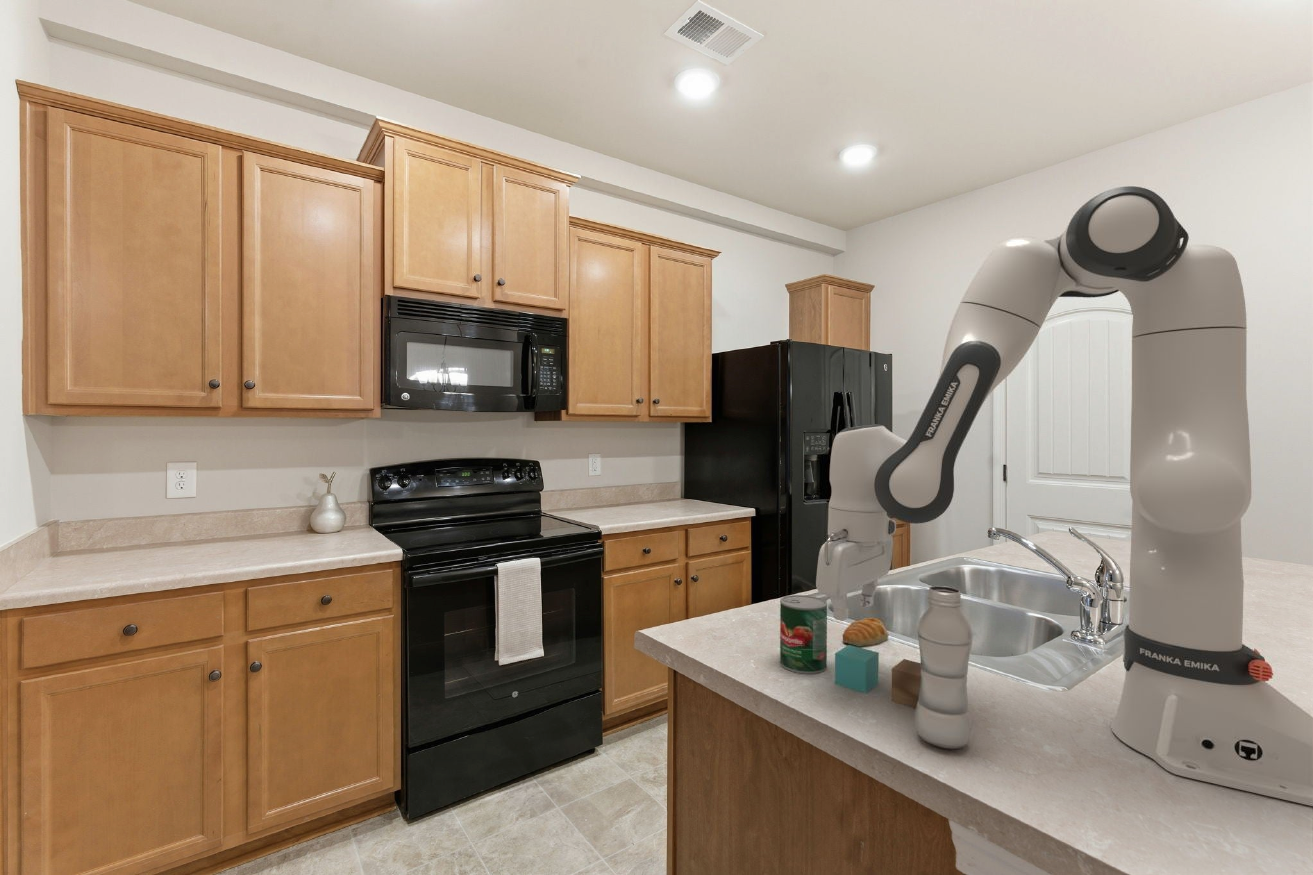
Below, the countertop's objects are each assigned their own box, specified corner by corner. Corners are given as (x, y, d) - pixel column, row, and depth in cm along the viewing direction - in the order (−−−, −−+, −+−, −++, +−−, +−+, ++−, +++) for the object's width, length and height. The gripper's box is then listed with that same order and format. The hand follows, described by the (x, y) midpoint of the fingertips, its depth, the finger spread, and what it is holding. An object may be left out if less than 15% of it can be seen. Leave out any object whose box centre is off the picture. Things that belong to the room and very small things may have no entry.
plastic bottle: (922, 724, 84) (924, 580, 83) (976, 741, 80) (979, 588, 79) (907, 743, 79) (909, 590, 78) (964, 762, 75) (967, 599, 74)
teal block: (878, 683, 98) (878, 652, 97) (865, 693, 94) (865, 661, 94) (848, 674, 101) (848, 644, 101) (834, 684, 97) (835, 653, 97)
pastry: (865, 652, 111) (865, 631, 111) (832, 642, 116) (832, 622, 116) (891, 640, 117) (891, 620, 117) (859, 631, 122) (859, 612, 122)
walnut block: (937, 700, 91) (937, 667, 91) (926, 712, 88) (926, 677, 88) (903, 690, 95) (904, 658, 95) (891, 701, 91) (891, 668, 91)
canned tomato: (830, 660, 107) (831, 598, 106) (822, 677, 100) (823, 610, 99) (785, 653, 110) (785, 592, 110) (774, 669, 103) (775, 604, 103)
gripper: (847, 538, 87) (843, 633, 88) (900, 521, 102) (897, 603, 103) (806, 531, 91) (804, 622, 92) (863, 516, 106) (861, 595, 107)
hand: (853, 612), depth 97 cm, fingers open, 8 cm apart
